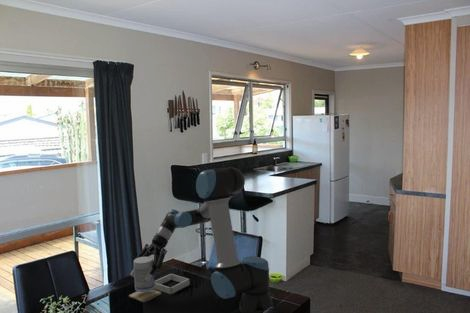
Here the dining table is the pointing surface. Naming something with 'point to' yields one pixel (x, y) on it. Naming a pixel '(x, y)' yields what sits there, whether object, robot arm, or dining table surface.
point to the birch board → (145, 295)
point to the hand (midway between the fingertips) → (139, 278)
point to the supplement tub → (143, 274)
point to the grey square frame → (182, 284)
